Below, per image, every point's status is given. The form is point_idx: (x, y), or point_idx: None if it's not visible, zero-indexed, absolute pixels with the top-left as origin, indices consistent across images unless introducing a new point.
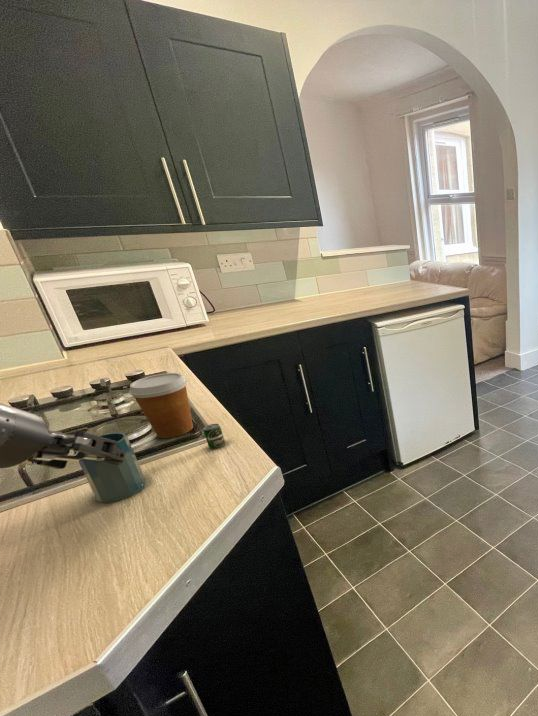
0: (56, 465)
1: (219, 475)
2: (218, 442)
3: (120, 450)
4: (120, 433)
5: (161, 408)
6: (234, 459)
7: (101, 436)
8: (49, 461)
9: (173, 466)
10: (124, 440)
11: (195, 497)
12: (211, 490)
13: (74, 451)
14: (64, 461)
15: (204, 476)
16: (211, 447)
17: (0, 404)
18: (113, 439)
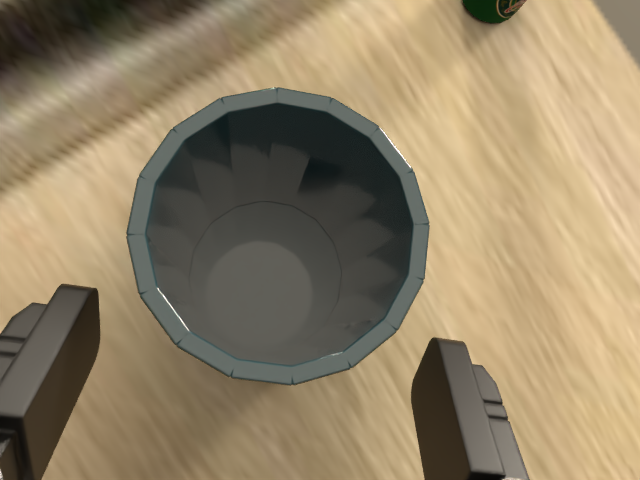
0: (79, 387)
1: (609, 262)
2: (522, 4)
3: (472, 372)
4: (349, 120)
5: None
6: (610, 144)
7: (225, 117)
8: (55, 425)
9: (382, 124)
10: (427, 233)
11: (594, 414)
12: (631, 375)
13: (181, 346)
14: (91, 326)
15: (553, 253)
16: (482, 16)
17: None
18: (277, 122)
